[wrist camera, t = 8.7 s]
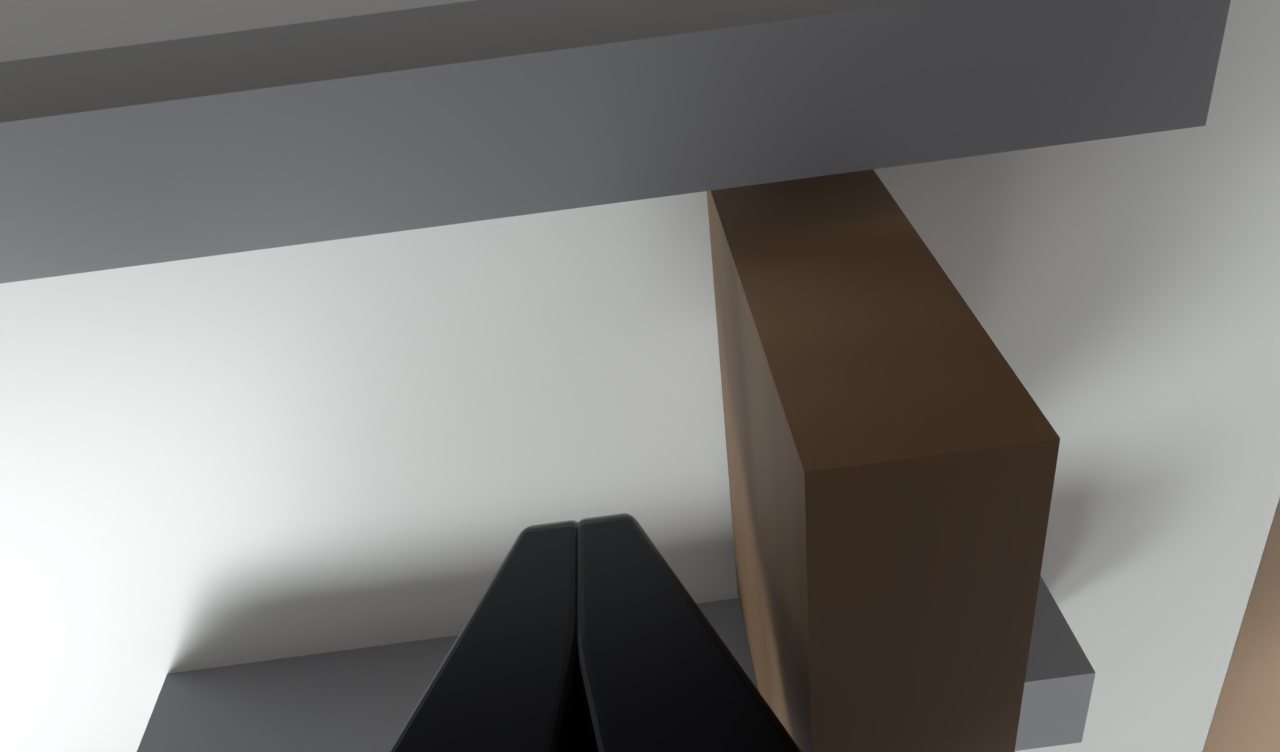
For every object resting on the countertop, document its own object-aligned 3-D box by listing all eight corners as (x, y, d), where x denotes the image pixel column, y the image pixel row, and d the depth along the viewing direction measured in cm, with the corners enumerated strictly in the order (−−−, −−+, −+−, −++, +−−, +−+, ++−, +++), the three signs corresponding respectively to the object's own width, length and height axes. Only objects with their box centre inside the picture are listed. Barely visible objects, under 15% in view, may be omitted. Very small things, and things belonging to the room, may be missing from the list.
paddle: (737, 591, 10) (817, 962, 7) (704, 175, 8) (803, 472, 5) (857, 575, 10) (986, 940, 7) (862, 153, 8) (1061, 438, 5)
